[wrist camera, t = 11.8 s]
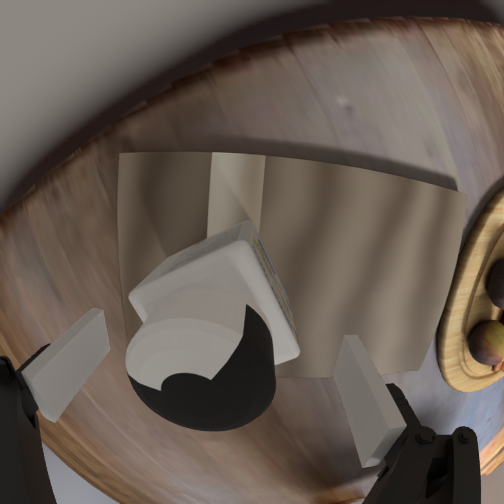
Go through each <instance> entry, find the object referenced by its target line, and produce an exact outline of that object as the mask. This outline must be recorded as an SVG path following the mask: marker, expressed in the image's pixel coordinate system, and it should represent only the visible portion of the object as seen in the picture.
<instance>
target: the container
mask: <svg viewBox="0 0 504 504" xmlns="http://www.w3.org/2000/svg"><path fill="white" fill-rule="evenodd" d="M128 298H129V301H130V302H131V304H132V306H133V307H134V309H135V310H136V312H137V314H138V315H139V317H140V318H141V320H142V322H143V325H142V326H141V327H140V329H139V330H138V332H137V333H136V334H135V336H134V337H133V338H132V340H131V342H130V344H129V345H128V348H127V352H126V359H125V363H126V370H127V374H128V377H129V379H130V382H131V384H132V386H133V388H134V390H135V392H136V393H137V395H138V396H139V397H140V399H141V400H142V401H143V402H144V403H145V404H146V405H147V406H148V407H149V408H150V409H151V410H153V411H154V412H155V413H157V414H158V415H160V416H161V417H163V418H165V419H166V420H168V421H170V422H172V423H175V424H177V425H180V426H183V427H186V428H190V429H194V430H200V431H226V430H231V429H235V428H238V427H241V426H244V425H246V424H248V423H250V422H251V421H253V420H254V419H256V418H257V417H258V416H260V415H261V414H262V413H263V412H264V411H265V410H266V409H267V408H268V406H269V405H270V404H271V402H272V400H273V398H274V394H275V390H276V377H275V365H278V364H280V363H283V362H286V361H289V360H291V359H294V358H296V357H298V356H299V354H300V348H299V343H298V339H297V334H296V329H295V325H294V320H293V316H292V311H291V307H290V302H289V299H288V297H287V295H286V293H285V290H284V288H283V286H282V284H281V282H280V280H279V277H278V275H277V273H276V271H275V269H274V267H273V265H272V262H271V260H270V258H269V256H268V254H267V252H266V250H265V248H264V245H263V243H262V241H261V239H260V237H259V235H258V233H257V231H256V229H255V226H254V224H253V222H252V221H251V220H245V221H243V222H241V223H238V224H236V225H234V226H232V227H230V228H228V229H226V230H223V231H221V232H219V233H217V234H215V235H213V236H211V237H209V238H207V239H205V240H202V241H200V242H198V243H196V244H194V245H192V246H190V247H188V248H186V249H184V250H182V251H180V252H178V253H176V254H174V255H172V256H170V257H168V258H167V259H165V260H164V261H163V262H162V263H161V264H160V265H159V266H158V267H157V268H156V269H155V270H153V271H152V272H151V273H150V274H149V275H148V276H147V277H146V278H145V279H144V280H143V281H142V282H141V283H140V284H138V285H137V286H136V287H135V288H134V289H133V290H132V291H131V292H130V293H129V297H128Z"/></svg>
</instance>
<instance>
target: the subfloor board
mask: <svg viewBox="0 0 504 504" xmlns="http://www.w3.org/2000/svg"><path fill="white" fill-rule="evenodd" d="M467 199H468V195H467V194H464V193H461V192H457V191H454V190H451V189H447V188H444V187H440V186H437V185H433V184H429V183H425V182H421V181H417V180H413V179H409V178H405V177H400V176H396V175H392V174H387V173H382V172H377V171H372V170H367V169H362V168H356V167H350V166H344V165H338V164H332V163H325V162H318V161H311V160H303V159H294V158H285V157H276V156H266V155H254V154H240V153H221V152H133V153H119V169H118V196H117V224H118V252H119V268H120V280H121V290H122V299H123V308H124V315H125V322H126V329H127V335H128V341H129V344H130V342H131V340H132V338H133V337H134V336H135V334H136V333H137V332H138V330H139V329H140V327H141V326H142V325H143V322H142V320H141V318H140V317H139V315H138V314H137V312H136V310H135V309H134V307H133V306H132V304H131V302H130V301H129V298H128V297H129V293H130V292H131V291H132V290H133V289H134V288H135V287H136V286H137V285H138V284H140V283H141V282H142V281H143V280H144V279H145V278H146V277H147V276H148V275H149V274H150V273H151V272H152V271H153V270H155V269H156V268H157V267H158V266H159V265H160V264H161V263H162V262H163V261H164V260H165V259H167V258H168V257H170V256H172V255H174V254H176V253H178V252H180V251H182V250H184V249H186V248H188V247H190V246H192V245H194V244H196V243H198V242H200V241H202V240H205V239H207V238H209V237H211V236H213V235H215V234H217V233H219V232H221V231H223V230H226V229H228V228H230V227H232V226H234V225H236V224H238V223H241V222H243V221H245V220H251V221H252V222H253V224H254V226H255V229H256V231H257V233H258V235H259V237H260V239H261V241H262V243H263V245H264V248H265V250H266V252H267V254H268V256H269V258H270V260H271V262H272V265H273V267H274V269H275V271H276V273H277V275H278V277H279V280H280V282H281V284H282V286H283V288H284V290H285V293H286V295H287V297H288V299H289V302H290V307H291V311H292V316H293V320H294V325H295V329H296V334H297V339H298V343H299V348H300V354H299V356H298V357H296V358H294V359H291V360H289V361H286V362H283V363H280V364H278V365H275V377H295V378H324V377H333V372H334V369H335V365H336V362H337V359H338V355H339V352H340V348H341V345H342V341H343V337H344V335H358V337H359V339H360V340H361V342H362V344H363V346H364V347H365V349H366V351H367V352H368V354H369V356H370V358H371V360H372V361H373V363H374V365H375V367H376V368H377V370H378V372H379V374H390V373H399V372H408V371H415V370H419V369H420V367H421V365H422V362H423V360H424V358H425V356H426V353H427V351H428V349H429V346H430V344H431V341H432V339H433V336H434V334H435V331H436V328H437V326H438V323H439V320H440V317H441V314H442V311H443V308H444V305H445V302H446V299H447V296H448V292H449V289H450V286H451V282H452V278H453V274H454V271H455V267H456V262H457V258H458V254H459V249H460V244H461V239H462V233H463V227H464V221H465V214H466V207H467Z"/></svg>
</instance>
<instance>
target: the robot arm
mask: <svg viewBox="0 0 504 504" xmlns="http://www.w3.org/2000/svg"><path fill="white" fill-rule="evenodd" d="M110 350H111V349H110V344H109V339H108V334H107V328H106V323H105V317H104V310H102V309H97V308H92V309H90V310H89V311H88V312H87V313H86V314H85V315H83V316H82V317H81V318H80V319H79V320H78V321H76V322H75V323H74V324H73V325H72V326H71V327H70V328H68V329H67V330H66V331H65V332H64V333H63V334H62V335H61V336H59V337H58V338H57V339H56V340H55V341H54V342H53V343H52V344H50V343H49V344H47V345H45V346H43V347H41V348H40V349H39V350H38V351H37V352H36V354H34V355H32V356H31V358H29V359H28V360H27V361H26V362H25V363H24V364H23V365H22V366H21V367H20V368H19V369H17V370H16V371H15V370H14V367H13V365H12V363H11V360H10V359H9V358H8V357H6V356H0V504H57V503H56V499H55V496H54V493H53V490H52V487H51V483H50V479H49V475H48V471H47V467H46V463H45V459H44V453H43V448H42V442H41V436H40V429H39V422H38V416H37V414H36V411H37V410H38V409H39V410H40V411H41V413H42V415H43V417H45V418H47V419H49V420H50V421H52V422H54V423H55V422H56V421H57V419H58V418H59V417H60V415H61V414H62V412H63V411H64V410H65V408H66V407H67V406H68V404H69V403H70V402H71V400H72V399H73V398H74V396H75V395H76V394H77V392H78V391H79V390H80V388H81V387H82V386H83V384H84V383H85V382H86V380H87V379H88V378H89V377H90V375H91V374H92V373H93V371H94V370H95V369H96V368H97V366H98V365H99V364H100V363H101V361H102V360H103V359H104V358H105V356H106V355H107V354H108V353H109V351H110ZM333 377H334V380H335V383H336V386H337V389H338V392H339V395H340V398H341V401H342V404H343V407H344V410H345V414H346V417H347V420H348V423H349V426H350V429H351V433H352V436H353V439H354V442H355V446H356V449H357V452H358V456H359V459H360V462H361V466H362V468H365V467H371V466H376V465H379V464H380V462H381V461H382V460H383V459H384V458H385V461H386V466H385V467H384V468H383V469H382V470H381V472H380V473H379V474H378V475H377V476H378V479H377V481H376V482H375V484H374V486H373V487H372V489H371V491H370V492H369V494H368V495H367V497H366V498H365V500H364V501H363V503H362V504H481V475H480V460H479V450H478V442H477V436H476V433H475V432H474V431H473V430H472V429H470V428H469V427H465V426H462V427H458V428H456V429H455V431H454V432H453V433H452V435H436V433H435V432H434V431H433V430H432V429H430V428H428V427H424V426H421V424H420V422H419V420H418V419H417V417H416V415H415V413H414V412H413V410H412V408H411V406H410V405H409V403H408V401H407V399H405V396H404V394H403V392H402V391H401V389H400V388H398V387H397V386H396V385H395V384H394V383H391V384H385V383H384V381H383V379H382V377H381V376H380V374H379V372H378V370H377V368H376V367H375V365H374V363H373V361H372V360H371V358H370V356H369V354H368V352H367V351H366V349H365V347H364V346H363V344H362V342H361V340H360V339H359V337H358V335H344V337H343V341H342V345H341V348H340V352H339V355H338V359H337V362H336V365H335V369H334V372H333Z"/></svg>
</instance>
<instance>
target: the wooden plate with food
mask: <svg viewBox="0 0 504 504" xmlns="http://www.w3.org/2000/svg"><path fill="white" fill-rule="evenodd" d="M438 363H439V368H440V371H441V374H442V377H443V379H444V381H445V382H446V383H447V384H448V385H449V386H450V387H452V388H453V389H455V390H458V391H460V392H473V391H478V390H481V389H483V388H485V387H487V386H489V385H491V384H493V383H494V382H496V381H497V380H499V379H500V378H501V377H502V376H504V188H502V189H501V190H500V191H499V192H497V193H496V194H495V196H494V197H493V198H492V199H491V200H490V201H489V203H488V204H487V205H486V207H485V208H484V210H483V211H482V213H481V214H480V216H479V218H478V219H477V221H476V223H475V225H474V227H473V228H472V230H471V232H470V234H469V236H468V238H467V241H466V243H465V245H464V247H463V249H462V252H461V254H460V256H459V259H458V262H457V264H456V267H455V271H454V274H453V278H452V282H451V286H450V289H449V292H448V296H447V299H446V302H445V305H444V308H443V311H442V315H441V321H440V328H439V335H438Z"/></svg>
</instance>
